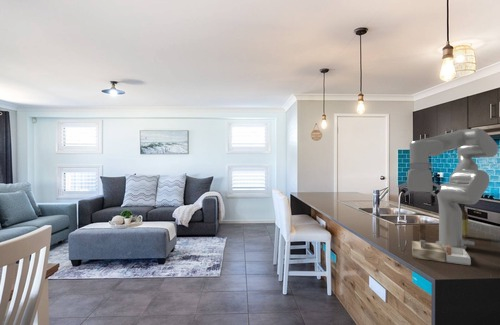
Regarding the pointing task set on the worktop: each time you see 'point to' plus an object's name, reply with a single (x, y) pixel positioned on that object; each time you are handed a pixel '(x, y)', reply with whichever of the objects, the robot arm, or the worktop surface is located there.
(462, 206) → the sauce bottle
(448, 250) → the block
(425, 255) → the board
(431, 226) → the worktop surface
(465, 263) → the box
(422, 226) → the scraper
